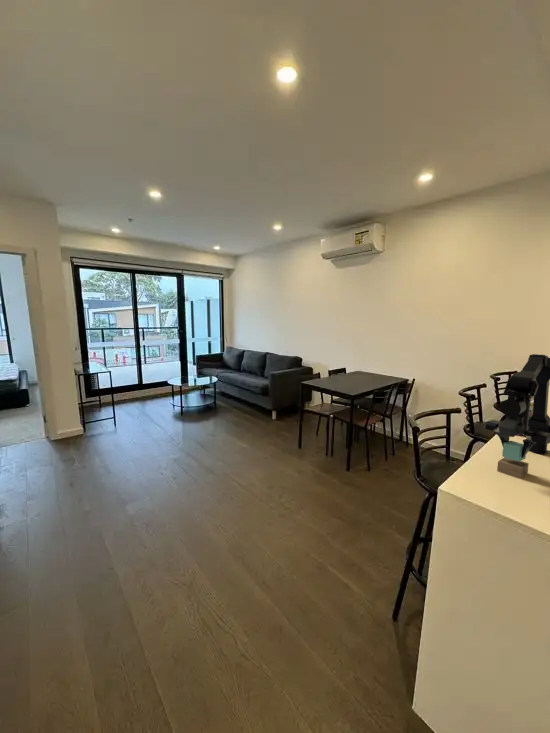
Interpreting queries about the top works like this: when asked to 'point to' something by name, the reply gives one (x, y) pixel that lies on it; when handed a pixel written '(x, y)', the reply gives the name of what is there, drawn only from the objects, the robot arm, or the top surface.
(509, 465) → the walnut block
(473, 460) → the top surface
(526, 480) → the top surface
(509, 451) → the teal cube
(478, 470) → the top surface
